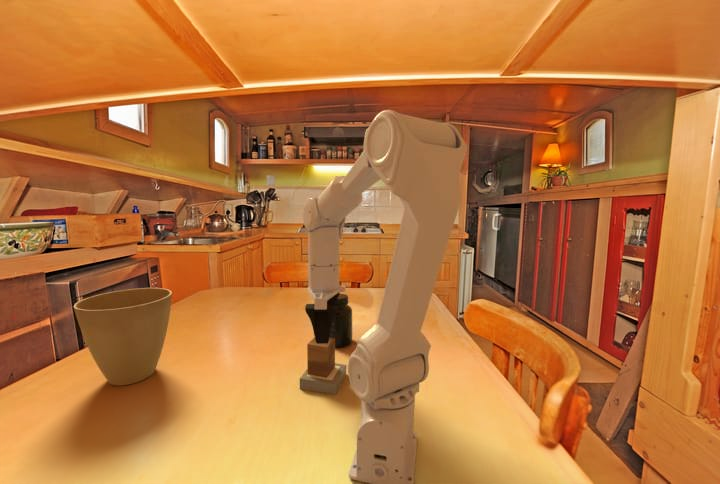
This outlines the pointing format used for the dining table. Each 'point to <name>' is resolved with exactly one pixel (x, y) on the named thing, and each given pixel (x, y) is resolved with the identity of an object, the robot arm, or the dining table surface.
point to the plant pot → (125, 331)
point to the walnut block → (321, 358)
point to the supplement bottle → (342, 323)
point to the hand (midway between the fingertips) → (324, 333)
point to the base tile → (324, 380)
